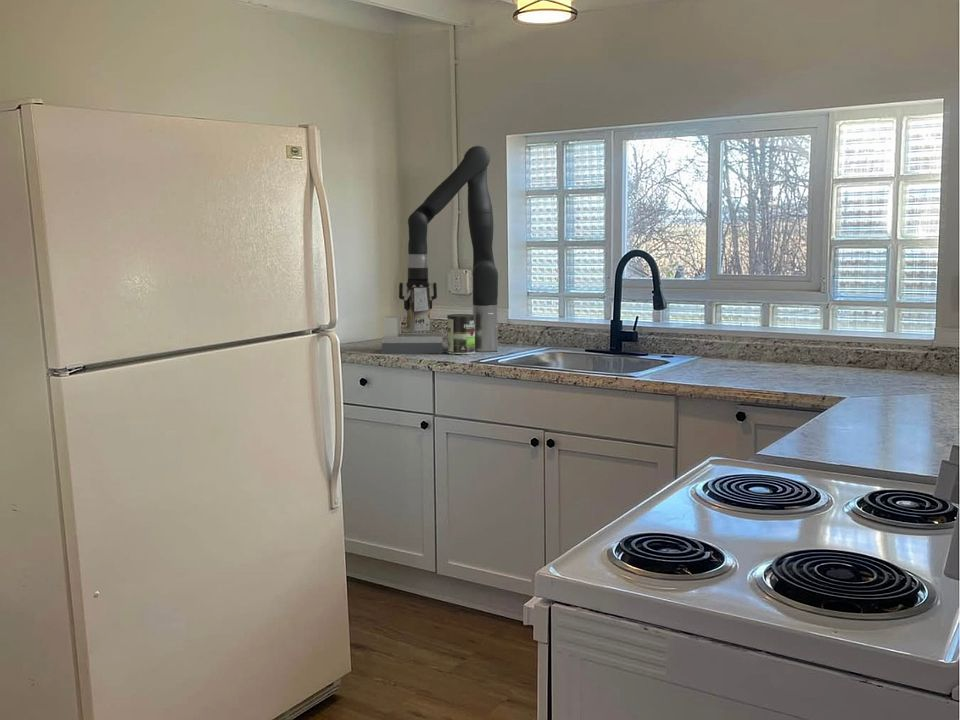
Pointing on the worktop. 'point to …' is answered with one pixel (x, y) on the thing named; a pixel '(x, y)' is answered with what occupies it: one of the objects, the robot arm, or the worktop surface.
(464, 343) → the coffee can
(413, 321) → the coffee box
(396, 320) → the block
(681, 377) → the worktop surface
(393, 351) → the rail base
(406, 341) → the rail
